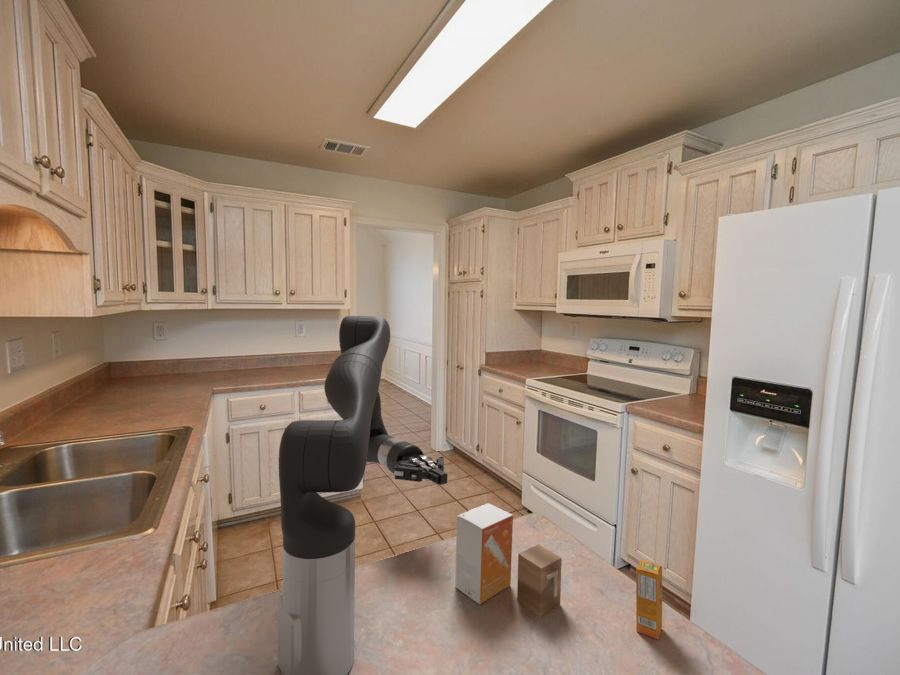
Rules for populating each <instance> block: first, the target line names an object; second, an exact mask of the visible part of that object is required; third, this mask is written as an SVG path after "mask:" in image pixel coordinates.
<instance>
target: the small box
mask: <svg viewBox="0 0 900 675" xmlns="http://www.w3.org/2000/svg"><path fill="white" fill-rule="evenodd" d="M513 520H514V514H512V513H510V512H508V511H505V510H503V509H501V508H500V507H497V506H495V505H494V504H492V503H490V502H488V503H485V504H482V505H479V506H477V507H475V508H471V509H469V510H466V511H465V512H463V513H460V514H458V515H457V516H456V542H455V543H456V545H455V546H456V547H455V578H454V579H455V581H454V582H455V583H454V585H455V586H454V587H455V588H456V589H457V590H459V591H460V592H461V593H463V594H465V595H466V596H467V597H469V598H470V599H471V600H472V601H474V602H475V603H476V604H478V605H483V604H484V603H485V602H486V601H487V600H489V599H491V598H493V597H494V596H495V595H497V594H499V593H501V592H502V591H503V590H506V589H508V588H509V587H510V586H511V583H512V582H511V580H512V555H513V554H512V551H513V530H514V528H513V525H514V524H513V523H514V521H513Z"/></svg>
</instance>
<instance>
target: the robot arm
mask: <svg viewBox="0 0 900 675" xmlns="http://www.w3.org/2000/svg"><path fill="white" fill-rule="evenodd" d="M338 339H339V340H338V342H339V343H338V344H339V349H340V353H341V354H340V355H338V356H337V358H336V359H335V360H334V361H333V362H332V365H331V366H330V368H329V371H328V373H327V375H326V378H325V380H324V387H323V388H324V395H325V396H326V399H327V401H328V403H329V405H330V406H331V408H332V409H333V411H335V412H336V414H338V416H339V417H340V418H341V419H340V420H336V419H335V420H331V419H330V420H326V419H324V420H321V419H320V420H317V419H312V420H311V419H308V420H307V419H305V420H302V419H301V420H294V421H292V422H290V423H289V424H288V425H287V426H286V427H285V429H284V430H283V433H282V436H281V439H280V444H279V448H278V449H279V450H278V479H279V480H278V481H279V494H280V495H279V497H280V498H279V499H280V518H281V520H280V523H281V532H282V595H280V596H279V597H278V602H277V603H278V605H277V608H278V613H277V614H278V615H277V616H278V617H277V618H278V621H277V622H278V624H277V625H278V626H277V627H278V634H277V635H278V636H277V638H278V640H277V641H278V645H277V646H278V648H277V649H278V650H277V651H278V652H277V655H278V656H277V657H278V660H277V662H278V663H277V664H278V668H279V670H280V672H281V675H348V673H349V672H350V670H351V669H352V667H353V664H354V660H355V640H356V639H355V602H356V600H355V599H356V598H355V596H356V594H355V588H356V586H355V584H356V582H355V581H356V580H355V579H356V576H355V575H356V574H355V572H356V567H355V566H356V563H355V562H356V519H355V516H354V514H353V512H351V511H350V510H349V509H347V508H346V507H344V506H343V505H340V504H338V503H335V502H332V501H330V500H328V499H327V498H324V497H323V496H322V495H320V494H319V493H346V492H351V491H353V490H355V489H357V487H358V486H360V484H361V482H362V480H363V478H364V476H365V472H366V466H367V463H377V464H379V465H381V466H382V467H383V468H384V469H386V470H387V471H389V472H391V473H392V474H394V479H395V480H401V481H402V480H403V481H408V482H410V481H411V482H416V483H417V482H418V483H420V482H423V480H424V481H427V482H432V483H435V484H437V485H439V486H442V485H447V484H448V473H447V472H445V457H444V456H439V457H438V458H436V459H433V458H432V457H430V456H426V455H425V453H424V452H423V451H422V449H421V448H420V447H419V446H417V445H415V444H412V443H410V442H408V441H406V440H403V439H401V438H396V437H393V436H391V435H389V433H388V431H387V429H386V426H385V424H384V420H383V417H382V401H381V400H382V399H381V395H380V392H379V387H380V383H381V377H382V371H383V363H384V361H385V359H386V355H387V352H388V349H389V347H390V342H391V328H390V324H389V323H388V321H387V319H386V318H384V317H381V316H377V315H347V316H344V317H343V318H342V320H341V321H340V326H339V332H338Z"/></svg>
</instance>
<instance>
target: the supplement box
mask: <svg viewBox="0 0 900 675" xmlns="http://www.w3.org/2000/svg"><path fill="white" fill-rule="evenodd" d="M635 572H636V573H635V574H636V576H635V577H636V579H635V580H636V582H635V584H636V587H635V590H636V598H635V600H636V603H635V604H636V605H635V606H636V610H635V611H636V613H635V614H636V615H635V616H636V617H635V618H636V619H635V620H636V622H635V624H636V628H635V629H636V632H637V633H639V634H642V635H644V636H647V637H650V638H653V639H655V640H659V639H660V636H661V632H662V628H663V566H662V565H661V564H658V563H654V562H651V561H649V560H643V559H640V560H639V562H638V564H637V567H636V571H635Z"/></svg>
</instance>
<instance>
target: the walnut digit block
mask: <svg viewBox="0 0 900 675" xmlns="http://www.w3.org/2000/svg"><path fill="white" fill-rule="evenodd" d="M517 558H518V560H517V589H516V590H517V594H516V595H517V596H516V598H517V601H518V602H520V603H521V604H522V605H523V606H525V607H526V608H527V609H529V611H531V612H532V613H534V614H535V615H536V616H538V617H539V618H541V617H543V616H544V615H546V614H548V613H550V612H551V611H553V610H554V609H556V608H557V607H559V606H560V605H561V592H562V591H561V590H562V561H563V560H562V557H561V556H559V555H558V554H556V553H554V552H553V551H550V550H549V549H547V548H546V547H544V546H542V545H541V544H537V545H534V546H532V547H530V548H527V549H526V550H523V551H521V552H519V553H518V556H517Z"/></svg>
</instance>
